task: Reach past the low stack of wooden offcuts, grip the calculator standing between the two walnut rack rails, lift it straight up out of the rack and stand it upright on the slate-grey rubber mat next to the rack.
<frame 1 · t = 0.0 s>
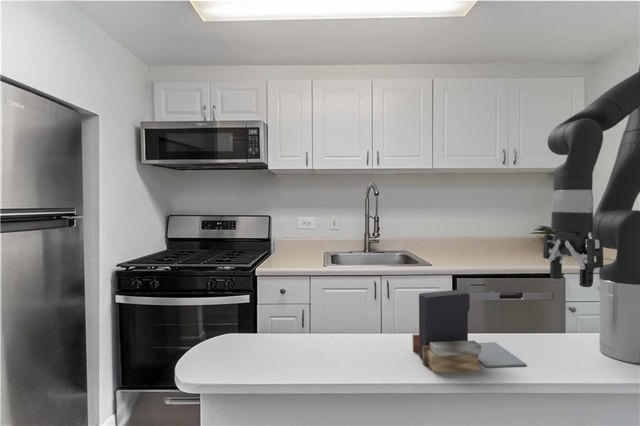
hand: (569, 282, 77), 17 cm above the counter, tool pointing down, fingers open, 8 cm apart
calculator: (443, 358, 79), on the counter
offcut stack: (453, 368, 73), on the counter
rack: (443, 356, 79), on the counter
slate mat: (490, 354, 79), on the counter
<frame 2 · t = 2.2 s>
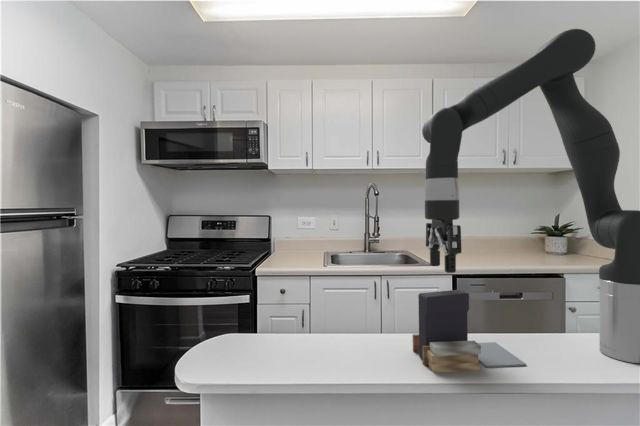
hand: (442, 269, 78), 20 cm above the counter, tool pointing down, fingers open, 8 cm apart
nothing on the counter moved.
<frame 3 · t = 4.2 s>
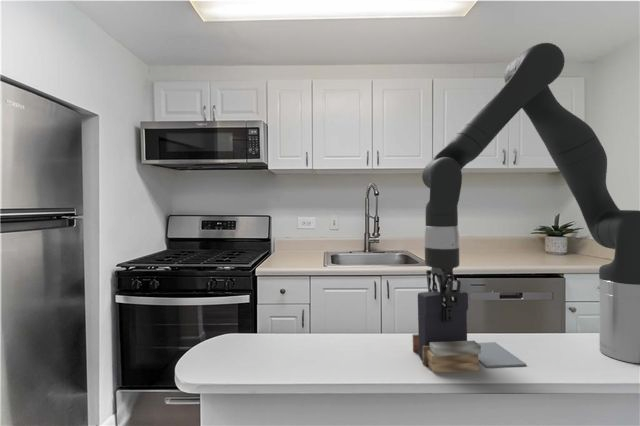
hand: (442, 318, 79), 9 cm above the counter, tool pointing down, fingers closed on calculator, 4 cm apart
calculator: (443, 357, 79), on the counter, touching gripper
everything else where it was.
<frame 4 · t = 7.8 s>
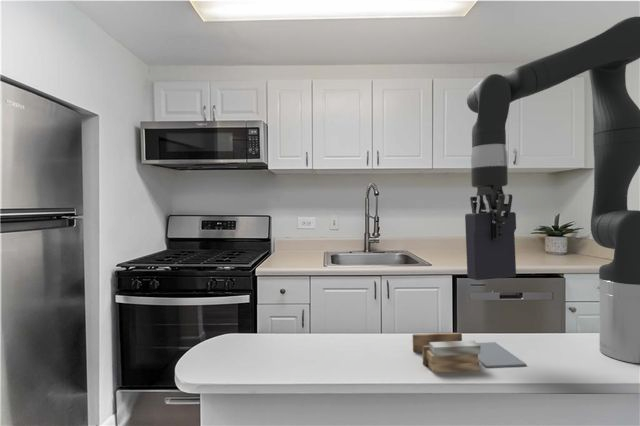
hand: (490, 239, 79), 27 cm above the counter, tool pointing down, fingers closed on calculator, 4 cm apart
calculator: (491, 278, 79), point 18 cm above the counter, touching gripper
everything else where it was.
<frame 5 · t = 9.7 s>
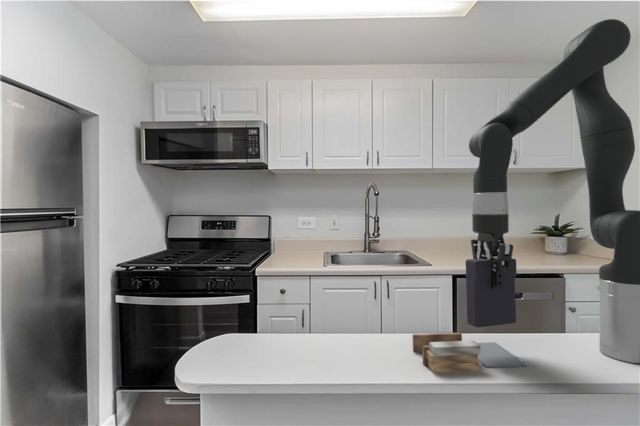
hand: (490, 285, 79), 16 cm above the counter, tool pointing down, fingers closed on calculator, 4 cm apart
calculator: (491, 324, 79), point 7 cm above the counter, touching gripper
everything else where it was.
when the fingers open (11 cm above the counter, at t = 11.3 s): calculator drops 1 cm, on the counter.
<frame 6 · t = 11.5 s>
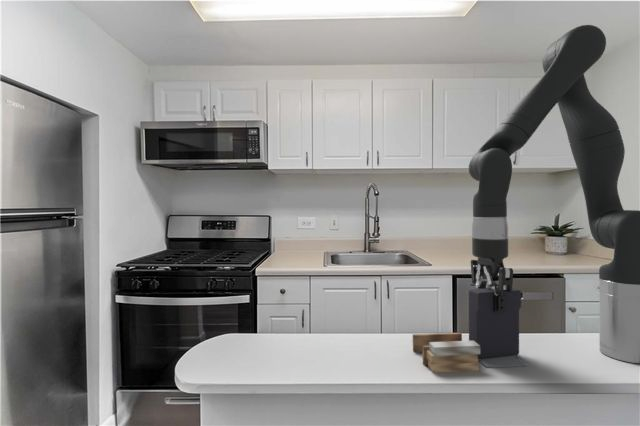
hand: (490, 307, 79), 11 cm above the counter, tool pointing down, fingers open, 6 cm apart
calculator: (493, 355, 78), resting on slate mat, touching gripper
everything else where it was.
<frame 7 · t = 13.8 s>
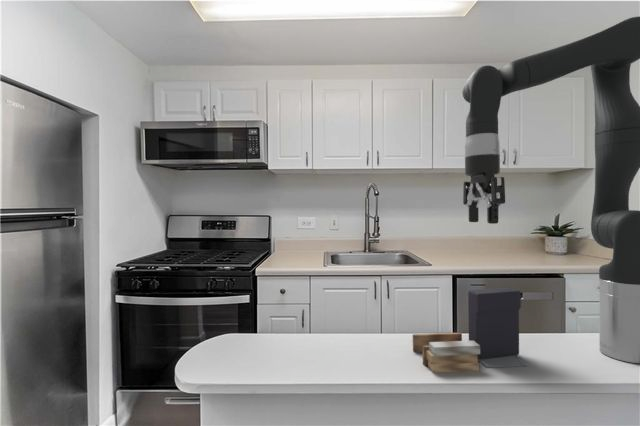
hand: (482, 222, 81), 31 cm above the counter, tool pointing down, fingers open, 8 cm apart
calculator: (493, 355, 78), resting on slate mat
everything else where it was.
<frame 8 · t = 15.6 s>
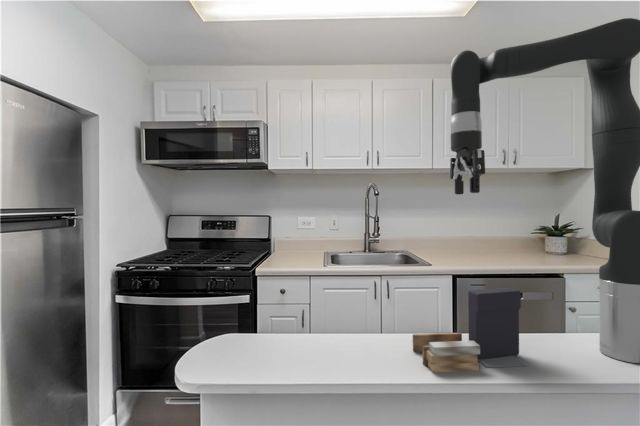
hand: (466, 193, 90), 38 cm above the counter, tool pointing down, fingers open, 8 cm apart
nothing on the counter moved.
at the end: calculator inside the target area (0.9 cm from its centre), resting on slate mat; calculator tilted 0°; offcut stack moved 0.3 cm from its start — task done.
